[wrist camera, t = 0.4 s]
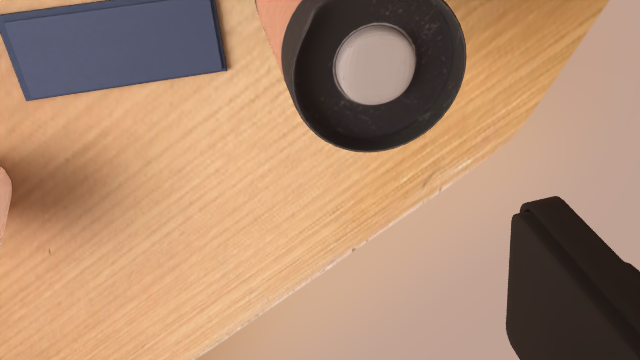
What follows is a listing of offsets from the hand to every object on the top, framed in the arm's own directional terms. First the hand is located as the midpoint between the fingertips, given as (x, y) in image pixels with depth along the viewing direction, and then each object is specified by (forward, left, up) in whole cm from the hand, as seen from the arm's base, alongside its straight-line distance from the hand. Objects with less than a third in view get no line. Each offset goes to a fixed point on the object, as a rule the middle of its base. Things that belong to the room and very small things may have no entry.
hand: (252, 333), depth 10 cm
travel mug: (+3, +6, -35) cm, 36 cm away
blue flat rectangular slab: (+7, -7, -35) cm, 36 cm away
